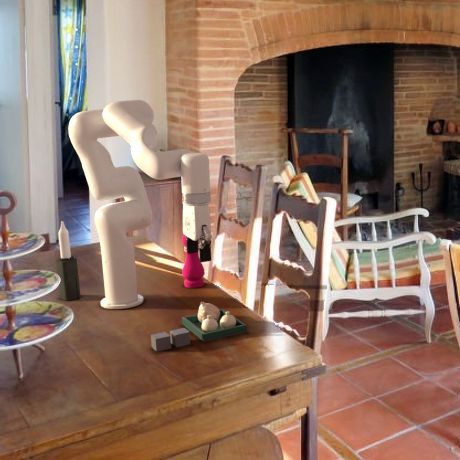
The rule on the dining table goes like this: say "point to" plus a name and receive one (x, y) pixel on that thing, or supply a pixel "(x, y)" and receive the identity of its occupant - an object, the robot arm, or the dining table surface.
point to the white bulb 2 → (227, 321)
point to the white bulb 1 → (209, 325)
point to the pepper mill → (192, 268)
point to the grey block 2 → (180, 337)
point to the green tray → (196, 328)
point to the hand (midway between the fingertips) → (199, 257)
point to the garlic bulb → (208, 312)
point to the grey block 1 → (161, 341)
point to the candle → (67, 268)
